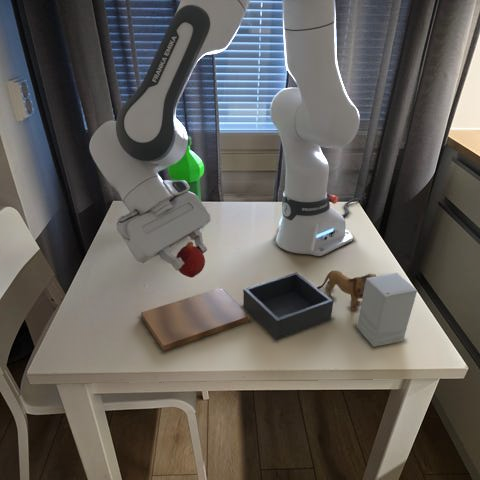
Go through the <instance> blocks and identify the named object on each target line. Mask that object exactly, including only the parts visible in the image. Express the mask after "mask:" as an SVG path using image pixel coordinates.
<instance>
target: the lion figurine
mask: <svg viewBox="0 0 480 480" xmlns="http://www.w3.org/2000/svg"><path fill="white" fill-rule="evenodd" d="M376 276H377V274H375V273H367V274H365V275H363V276H356V277H353V278H351V277H348V276H347V275H345V274H344V273H343V272H341V271H340V270H334V269H333V270H331V271H329V272H328V273H327V275H326V276H325V279H324V281H323V283H322V284H321V285H318V286H316V288H318V289H319V290H321V289H322V288H324V286H325V285H326V286H325V290H327V296H328V297H329V298H331V299H332V300H333V301H334V296H332V291H333V289H334V287H335V286H337V287H338V289H339V290H340V291H341V292H342V293H344V294H347V295H349V296H350V310H351V311H353V312H354V311H356V310H357V306H358V305H361V302H360V299H361V300H362V298H363V293H364V287H365V282H366V278H370V277H376ZM356 305H357V306H356Z"/></svg>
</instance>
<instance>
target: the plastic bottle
mask: <svg viewBox="0 0 480 480" xmlns="http://www.w3.org/2000/svg"><path fill="white" fill-rule="evenodd" d="M192 143H193V142H192V136H191V135H188V148H187V151H186V153H185V155H184V156H183V158H182V159H181V160H180V161H178V162H177V163H175V164H173V165H172V166H170V167H168V168H166V169H167V173H168V176H169V177H170V178H171V180H172V181H186V182H187V183H188V185H189V186H190V189H189V190H188V192H192V193H194V194H195V195H196V196H197V197H198V198H199V199H200V201H201V202H202V190H201V189H202V188H201V178H202V177H203V175H204V173H205V164H204V162H203V160H202V159H201V158H200V157H199V156H198V155H197V154H196V153H195V152H194V151H192V150H191V145H192Z"/></svg>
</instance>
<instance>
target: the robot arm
mask: <svg viewBox="0 0 480 480" xmlns="http://www.w3.org/2000/svg"><path fill="white" fill-rule="evenodd" d="M250 2H251V0H180V2H179V4H178V7H177V10H176V12H175V13H174V16H173V18H172V20H171V21H170V24H169V25H168V27H167V29H166V31H165V33H164V35H163V37H162V40H161V41H160V44H159V46H158V48H157V50H156V52H155V55H154V57H153V59H152V61H151V64H150V65H149V68H148V70H147V72H146V74H145V76H144V79H143V80H142V82H141V84H140V86H138V88H137V90H136V91H135V92H134V93H133V94H132V95H131V96H130V97H129V98H128V99H127V100H126V101H125V102H124V104H123V105H122V106H121V107H120V110H119V111H118V113H117V116H116V119H115V120H107V121H105V122H103V123H102V124H101V125H99V126H98V127H97V128H96V129H95V131H94V132H93V134H92V135H91V138H90V141H89V146H88V148H89V153H90V155H91V157H92V160H93V162H94V163H95V165H96V166H97V168H98V169H99V171H100V172H101V174H102V175H103V177H104V178H105V180H106V182H107V183H108V184H109V185H110V186H111V187H112V188H113V189H114V190H116V192H117V193H118V194H119V197H120V200H121V202H122V203H123V204H124V206H125V207H126V209H127V210H128V211H129V212H128V213H127V214H125V215H122V216H120V217H119V218H118V219H117V221H116V224H115V228H116V231H117V232H118V234H119V235H120V236H121V237H122V238H123V240H124V243H125V244H126V246H127V248H128V250H129V251H130V253H131V255H132V257H133V258H134V259H135V260H136V262H138V263H141V264H144V263H146V262H148V261H150V260H152V259H153V258H155V257H157V256H159V258H160V259H161V260H162V261H164V262H166V263H168V264H170V265H171V266H172V267H173V269H174V270H175V271H179V269H180V268H182V267H183V266H184V265H185V263H184V261H182V259H181V257H179V258H176V256H175V255H174V254H172V250H171V249H170V248H171V247H173V246H175V245H176V244H178V243H180V242H182V241H183V240H185V239H186V238H190V240H191V241H194V244H195V245H194V246H195V247H197V248H198V249H199V250H201V252H202V253H203V254H205V253H206V252H207V251H208V248H207V246H206V245H205V243H204V239H203V235H202V231H200V230H202V229H203V228H205V227H206V226H207V225H208V224H209V223H210V222H211V220H212V219H211V214H210V212H209V210H208V208H207V207H206V206H205V204H204V203H203V202H202V200H201V201H200V199H199V198H198V197H197V196H196V195H195V194H194V193H192V192H188V190H189V189H190V186H189V185H188V183H187V182H186V181H173V180H167V179H164V180H163V179H162V177H161V176H160V175H159V172H162V171H164V170H166V169H167V168H168V167H170V166H172V165H173V164H175V163H177V162H178V161H180V160H181V159H182V158H183V156H184V155H185V153H186V151H187V148H188V136H189V135H188V132H187V130H186V127H185V126H184V125H183V124H182V122H181V121H180V120H179V119H178V118H177V117H176V116H177V107H178V104H179V101H180V98H181V97H182V95H183V93H184V91H185V88H186V86H187V84H188V82H189V79H190V78H191V75H192V73H193V71H194V68H195V67H196V65H197V63H198V61H200V59H202V58H203V57H204V56H206V55H215V54H218V53H222V52H223V51H225V50H226V49H227V48H228V47H229V45H230V44H231V42H232V41H233V39H234V38H235V36H236V35H237V32H238V31H239V29H240V27H241V24H242V23H243V20H244V18H245V15H246V13H247V10H248V8H249V5H250ZM281 2H282V31H283V46H284V59H285V60H284V61H285V66H286V67H285V68H286V71H288V74H289V75H290V76H291V77H292V78H293V81H294V82H295V84H296V86H297V87H287V88H283V89H281V90H279V91H278V92H277V93H276V94H275V95H274V97H273V98H272V101H271V103H270V107H269V115H270V120H271V122H272V124H273V125H274V127H275V128H276V130H277V132H278V136H279V138H280V142H281V146H282V151H283V156H284V162H285V177H284V179H285V180H284V191H283V192H282V200H281V214H282V215H281V218H280V220H279V223H278V226H279V229H278V231H277V235H276V237H275V243H276V245H277V246H278V247H279V248H281V249H282V250H284V251H286V252H288V253H289V252H290V253H294V254H300V255H311V256H316V257H322V256H324V255H327V254H328V253H331V252H332V251H334V250H337V249H338V248H340V247H342V246H344V245H347V244H349V243H350V242H353V237H354V236H353V234H352V233H351V232H350V231H349V230H347V226H346V225H347V224H346V219H345V217H346V216H347V215H348V214H349V212H350V211H349V208H348V207H347V206H348V205H349V204H350V203H352V202H356V201H357V202H359V203H361V202H362V199H360V198H358V197H357V198H352V199H350V200H348V201H346V202H345V203H344V205H343V206H344V207H343V208H344V210H345V213H343V214H341V213H340V212H339V211H337V210H336V209H334V208H333V207H332V206H331V204H330V203H332V204H333V205H335V204H337V202H338V201H339V197H338V196H336V195H334V194H332V193H331V194H329V193H328V191H327V190H328V183H329V176H330V175H329V174H330V165H329V162H328V160H327V158H326V157H325V155H324V154H323V151H322V148H328V149H342V148H345V147H347V146H348V145H350V143H352V141H353V140H354V139H355V137H356V135H357V134H358V131H359V128H360V123H361V122H360V121H361V117H360V113H359V110H358V108H357V107H356V106H355V104H354V103H353V102H352V100H351V99H350V97H349V95H348V94H347V90H346V89H345V85H344V83H343V79H342V76H341V73H340V69H339V64H338V56H337V20H336V19H337V17H336V16H337V15H336V14H337V13H336V12H337V11H336V10H337V9H336V0H281ZM321 147H322V148H321Z"/></svg>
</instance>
